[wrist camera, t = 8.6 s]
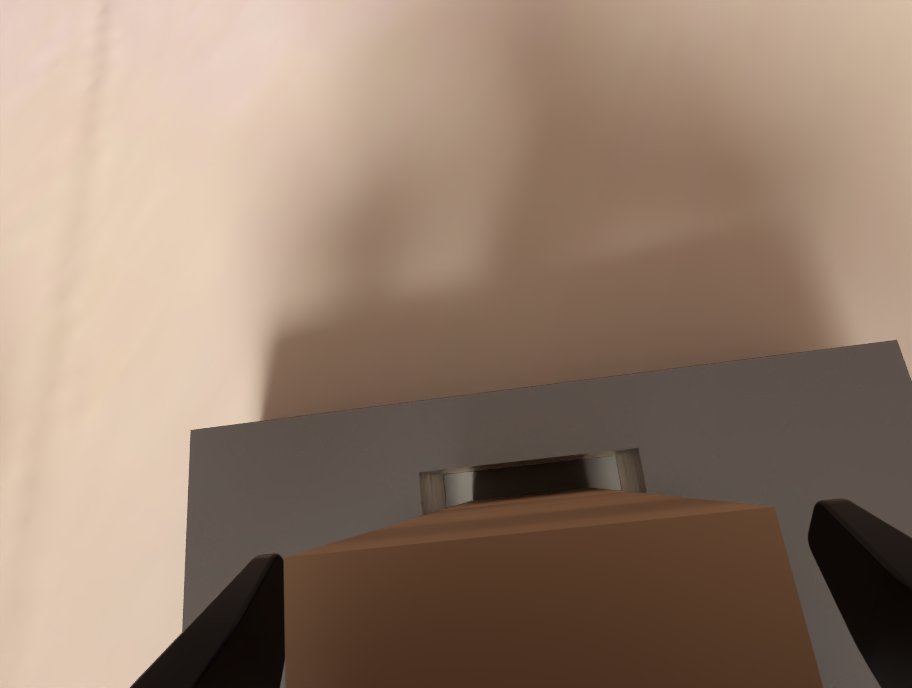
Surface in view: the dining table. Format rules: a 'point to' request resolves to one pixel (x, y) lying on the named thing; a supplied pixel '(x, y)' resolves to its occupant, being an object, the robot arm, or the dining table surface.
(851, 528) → the robot arm
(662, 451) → the rail block
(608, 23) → the dining table surface
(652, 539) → the walnut peg
